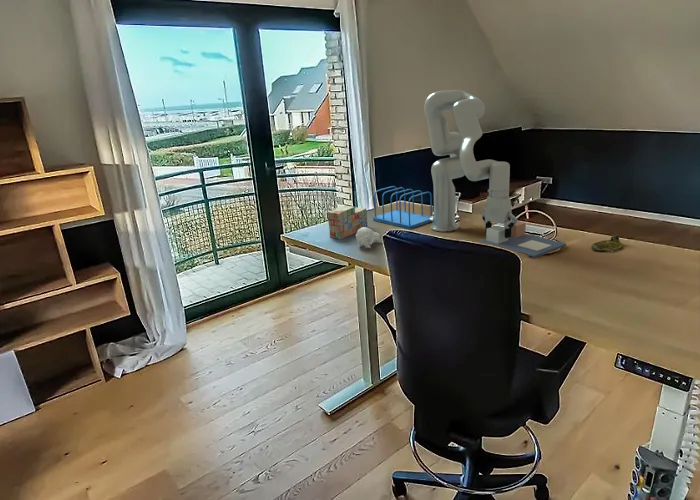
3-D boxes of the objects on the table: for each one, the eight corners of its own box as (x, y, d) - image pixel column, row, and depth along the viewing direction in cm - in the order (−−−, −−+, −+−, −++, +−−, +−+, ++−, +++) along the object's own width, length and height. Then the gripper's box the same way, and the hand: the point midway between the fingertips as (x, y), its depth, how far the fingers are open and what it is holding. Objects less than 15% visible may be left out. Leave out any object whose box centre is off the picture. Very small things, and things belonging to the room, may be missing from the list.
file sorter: (373, 220, 237) (371, 190, 232) (397, 213, 248) (396, 184, 243) (410, 229, 219) (409, 197, 214) (434, 221, 229) (434, 190, 224)
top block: (503, 234, 199) (504, 223, 198) (513, 231, 202) (513, 220, 201) (515, 237, 194) (516, 226, 193) (525, 234, 198) (525, 223, 196)
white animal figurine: (354, 227, 197) (372, 223, 205) (354, 247, 199) (372, 242, 207) (365, 229, 192) (384, 225, 201) (365, 250, 195) (383, 244, 203)
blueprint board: (479, 242, 195) (479, 240, 194) (510, 232, 205) (510, 229, 204) (533, 258, 174) (533, 255, 173) (565, 246, 184) (566, 243, 184)
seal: (608, 258, 173) (628, 248, 181) (611, 246, 171) (631, 236, 179) (584, 250, 180) (604, 240, 188) (586, 238, 178) (607, 229, 186)
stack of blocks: (357, 225, 231) (355, 201, 227) (367, 227, 227) (366, 202, 223) (329, 237, 215) (327, 211, 211) (340, 239, 211) (338, 213, 207)
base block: (486, 240, 194) (486, 228, 192) (496, 237, 197) (496, 225, 195) (498, 243, 189) (498, 231, 187) (507, 240, 192) (508, 228, 190)
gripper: (475, 192, 191) (475, 232, 197) (510, 198, 178) (509, 241, 183) (488, 189, 195) (487, 229, 201) (523, 194, 181) (521, 237, 187)
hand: (497, 235), depth 192 cm, fingers open, 9 cm apart
